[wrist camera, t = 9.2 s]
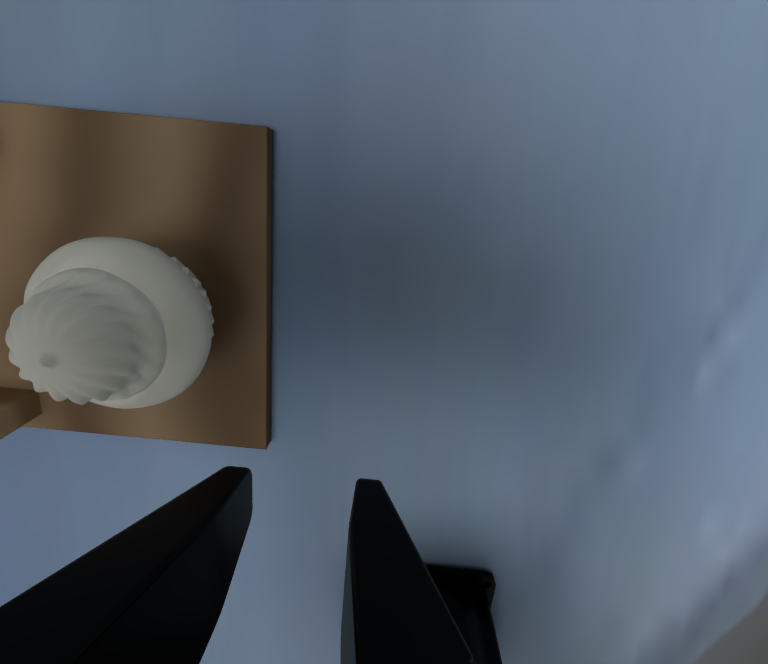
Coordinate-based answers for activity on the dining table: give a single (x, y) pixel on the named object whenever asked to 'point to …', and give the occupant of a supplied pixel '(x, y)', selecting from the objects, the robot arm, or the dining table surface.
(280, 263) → the dining table surface
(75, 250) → the muffin
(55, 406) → the channel bracket
